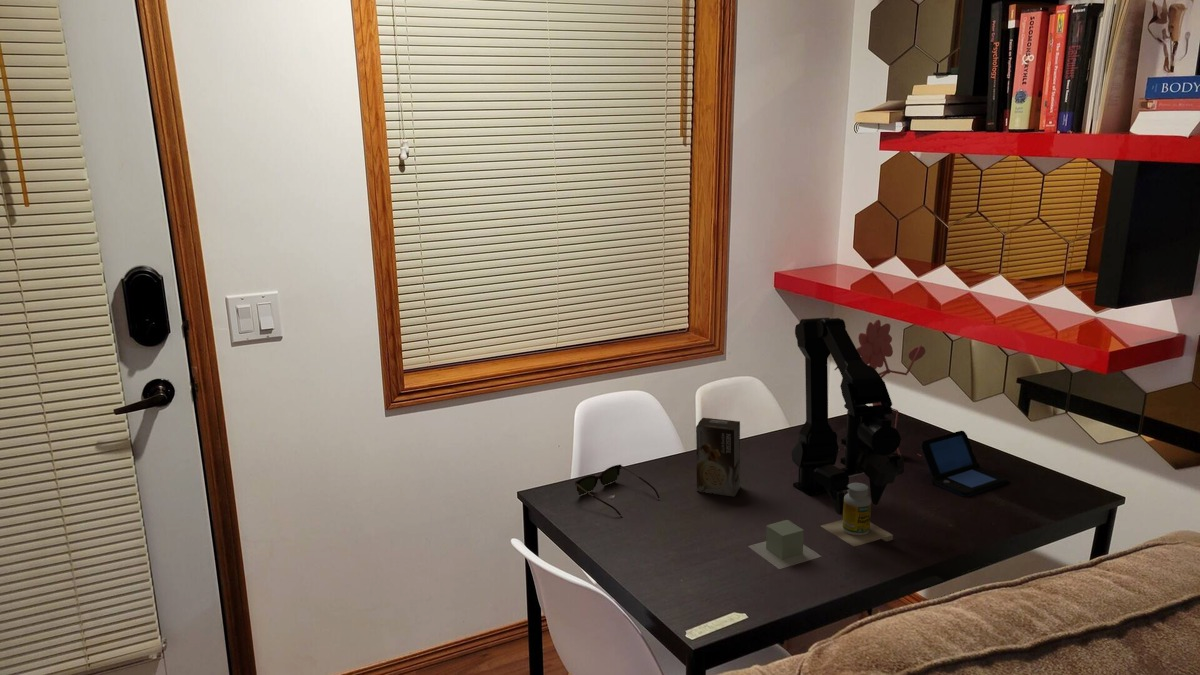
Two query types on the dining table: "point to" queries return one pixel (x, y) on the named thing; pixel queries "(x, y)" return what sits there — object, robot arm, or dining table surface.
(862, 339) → the figurine
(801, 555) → the grey pad
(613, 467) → the sunglasses
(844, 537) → the birch pad
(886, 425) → the robot arm
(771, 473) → the dining table surface
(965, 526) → the dining table surface
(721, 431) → the coffee box
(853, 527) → the supplement bottle
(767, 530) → the sage block
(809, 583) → the dining table surface
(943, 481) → the handheld game console
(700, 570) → the dining table surface
